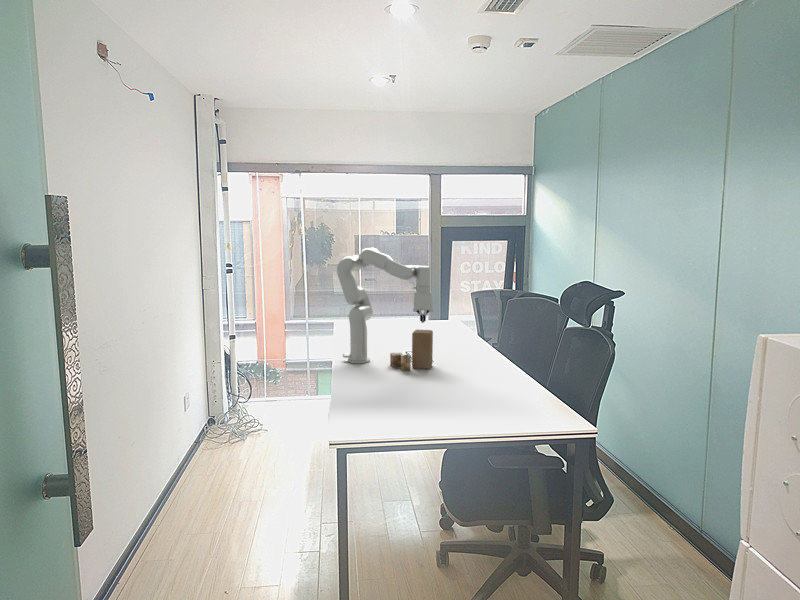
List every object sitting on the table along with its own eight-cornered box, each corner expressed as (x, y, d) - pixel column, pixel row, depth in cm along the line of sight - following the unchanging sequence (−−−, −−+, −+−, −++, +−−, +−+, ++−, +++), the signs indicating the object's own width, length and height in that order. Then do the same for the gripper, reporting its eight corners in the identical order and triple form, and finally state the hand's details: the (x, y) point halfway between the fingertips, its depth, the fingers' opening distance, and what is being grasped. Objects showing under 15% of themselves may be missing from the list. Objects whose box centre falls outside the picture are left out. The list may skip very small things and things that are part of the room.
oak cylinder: (401, 371, 299) (401, 356, 298) (401, 368, 304) (401, 354, 303) (410, 371, 299) (410, 356, 298) (410, 368, 304) (410, 354, 303)
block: (429, 369, 302) (430, 333, 300) (411, 368, 304) (411, 332, 302) (432, 365, 312) (433, 329, 309) (414, 364, 314) (415, 329, 311)
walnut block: (392, 368, 306) (392, 355, 305) (390, 365, 312) (390, 352, 311) (403, 367, 307) (403, 354, 306) (400, 364, 313) (400, 352, 312)
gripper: (409, 289, 299) (409, 323, 301) (437, 289, 299) (436, 323, 301) (409, 288, 306) (409, 321, 309) (436, 288, 306) (436, 321, 308)
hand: (422, 322), depth 305 cm, fingers closed
